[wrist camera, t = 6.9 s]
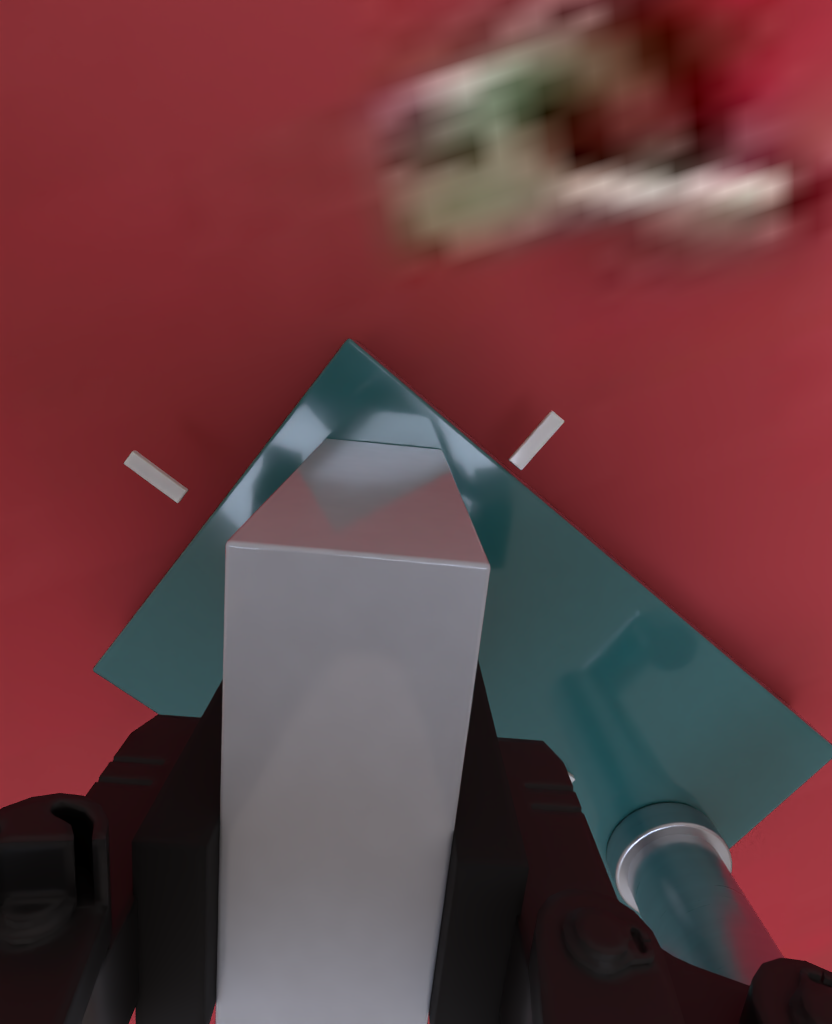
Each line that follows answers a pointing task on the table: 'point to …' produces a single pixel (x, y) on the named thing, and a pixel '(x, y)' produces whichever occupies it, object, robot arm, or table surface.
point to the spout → (688, 890)
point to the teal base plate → (507, 627)
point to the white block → (344, 736)
